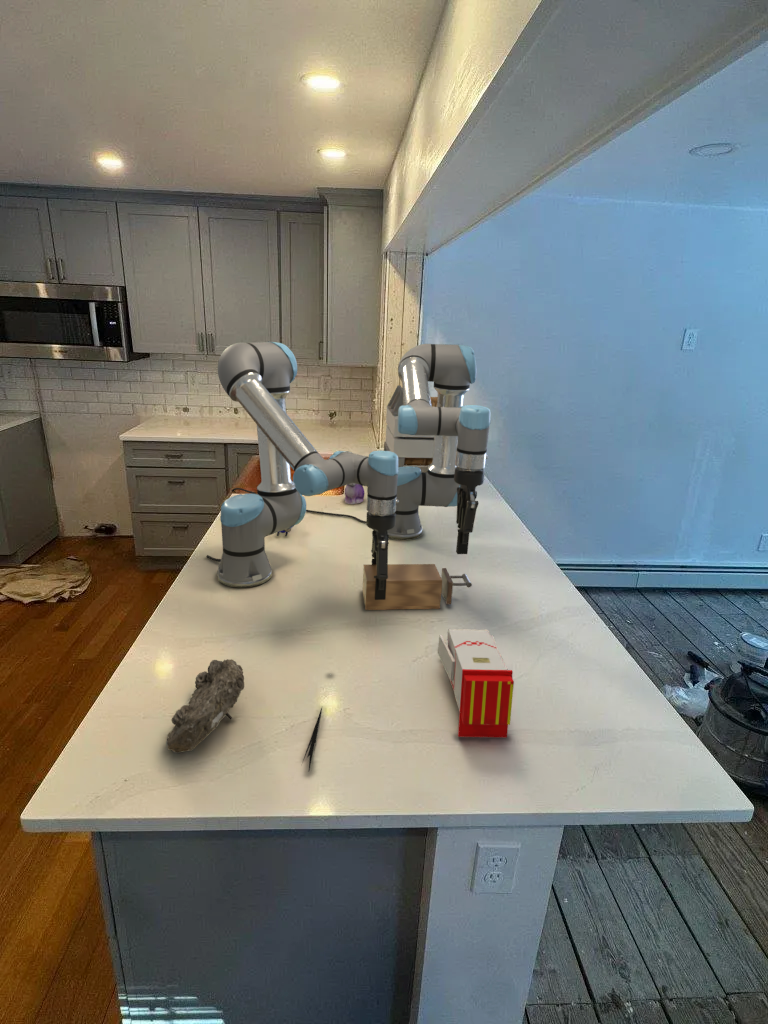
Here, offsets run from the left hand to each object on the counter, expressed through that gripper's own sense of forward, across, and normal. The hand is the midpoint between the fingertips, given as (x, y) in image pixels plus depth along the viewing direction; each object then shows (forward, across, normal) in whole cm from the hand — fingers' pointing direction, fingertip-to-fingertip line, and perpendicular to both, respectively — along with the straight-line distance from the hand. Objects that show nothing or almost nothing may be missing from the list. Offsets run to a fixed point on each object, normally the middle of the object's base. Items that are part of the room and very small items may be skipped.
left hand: (378, 589), depth 153 cm
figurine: (+4, +83, +1) cm, 83 cm away
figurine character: (+3, +51, +28) cm, 58 cm away
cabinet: (+3, 0, -6) cm, 7 cm away
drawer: (+2, 0, -13) cm, 13 cm away
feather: (+3, -46, +16) cm, 49 cm away
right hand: (-11, 0, -22) cm, 25 cm away
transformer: (+4, +126, -33) cm, 130 cm away
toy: (+3, -40, -15) cm, 43 cm away
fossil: (+3, -44, +36) cm, 57 cm away
